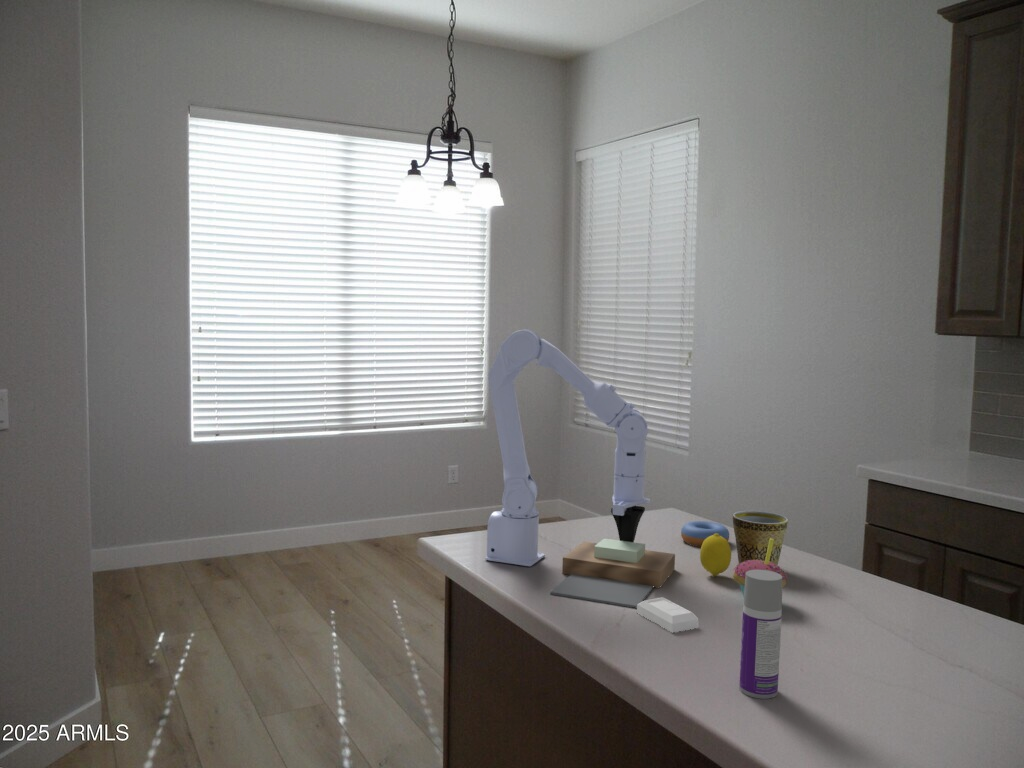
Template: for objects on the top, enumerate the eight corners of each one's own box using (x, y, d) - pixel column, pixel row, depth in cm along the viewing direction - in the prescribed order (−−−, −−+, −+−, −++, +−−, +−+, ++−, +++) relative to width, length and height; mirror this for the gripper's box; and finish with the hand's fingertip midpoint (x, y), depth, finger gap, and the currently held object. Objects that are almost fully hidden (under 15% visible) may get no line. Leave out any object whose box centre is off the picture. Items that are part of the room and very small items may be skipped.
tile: (593, 556, 151) (594, 546, 151) (603, 548, 156) (603, 538, 156) (636, 563, 148) (637, 552, 147) (644, 554, 153) (645, 543, 153)
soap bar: (672, 635, 123) (672, 618, 123) (636, 615, 131) (637, 599, 131) (698, 630, 125) (698, 613, 125) (661, 611, 133) (662, 595, 133)
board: (562, 573, 150) (562, 557, 150) (583, 556, 161) (583, 541, 161) (659, 588, 143) (660, 571, 143) (674, 569, 154) (675, 553, 154)
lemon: (727, 572, 153) (729, 530, 152) (732, 581, 148) (734, 538, 147) (697, 570, 154) (699, 528, 153) (701, 580, 148) (703, 536, 148)
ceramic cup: (792, 577, 151) (795, 524, 150) (737, 576, 151) (740, 522, 150) (771, 557, 164) (774, 507, 163) (721, 555, 164) (723, 506, 163)
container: (733, 682, 106) (739, 569, 105) (768, 682, 107) (774, 569, 106) (747, 699, 102) (752, 580, 101) (783, 698, 102) (789, 580, 101)
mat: (550, 594, 139) (550, 591, 139) (571, 575, 149) (571, 573, 149) (637, 608, 133) (637, 605, 133) (653, 588, 143) (653, 586, 143)
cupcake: (793, 603, 137) (797, 532, 136) (770, 615, 131) (774, 542, 130) (746, 590, 143) (749, 522, 142) (722, 602, 137) (725, 531, 136)
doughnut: (722, 535, 179) (721, 514, 178) (735, 550, 169) (735, 529, 169) (676, 538, 179) (675, 518, 178) (687, 554, 169) (687, 533, 168)
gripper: (640, 483, 147) (637, 557, 148) (659, 470, 160) (656, 538, 161) (602, 479, 150) (600, 552, 151) (623, 466, 163) (621, 533, 164)
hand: (626, 544), depth 156 cm, fingers closed
